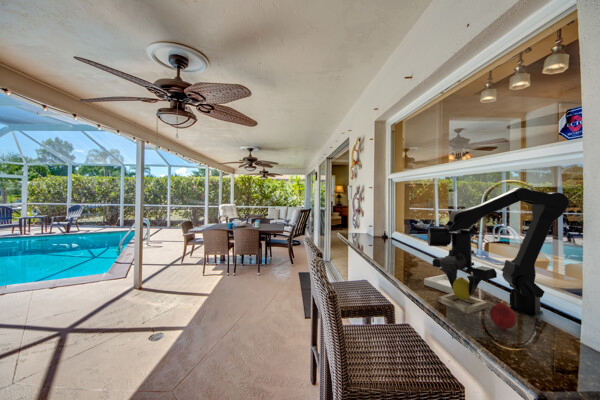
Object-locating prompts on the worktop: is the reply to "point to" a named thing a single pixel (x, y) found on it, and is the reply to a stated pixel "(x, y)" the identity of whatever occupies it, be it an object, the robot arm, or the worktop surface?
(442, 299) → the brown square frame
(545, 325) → the worktop surface
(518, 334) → the worktop surface
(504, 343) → the worktop surface
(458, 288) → the lemon
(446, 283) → the dish
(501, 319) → the onion
